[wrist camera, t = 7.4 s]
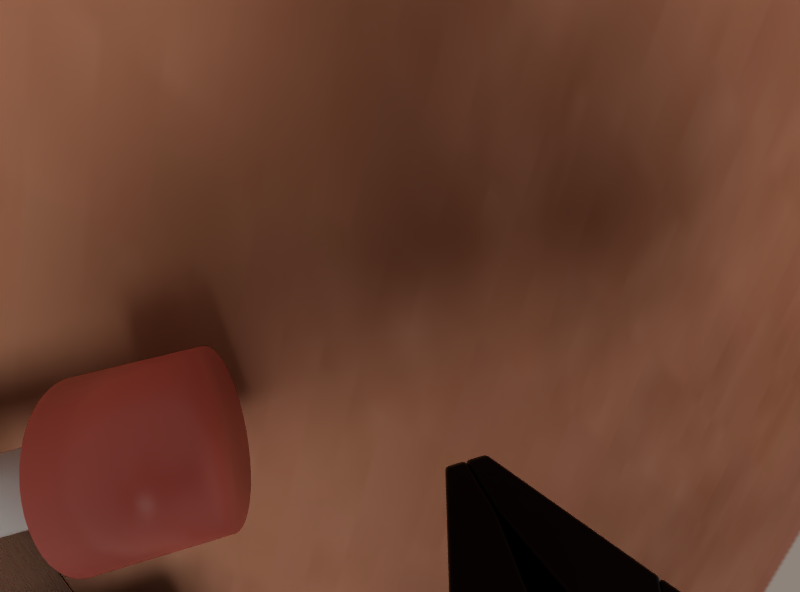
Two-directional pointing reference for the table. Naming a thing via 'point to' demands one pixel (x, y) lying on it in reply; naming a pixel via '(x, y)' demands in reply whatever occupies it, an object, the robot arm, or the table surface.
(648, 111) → the table surface
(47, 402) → the red knob
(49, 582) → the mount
